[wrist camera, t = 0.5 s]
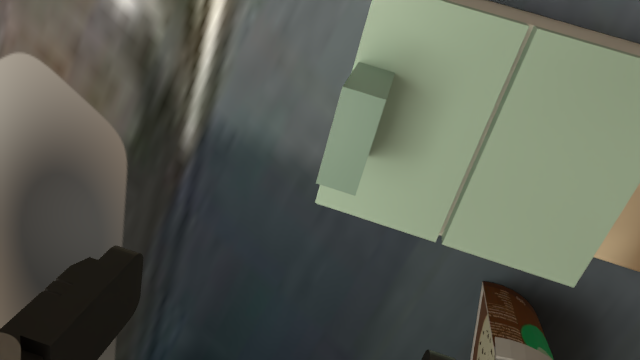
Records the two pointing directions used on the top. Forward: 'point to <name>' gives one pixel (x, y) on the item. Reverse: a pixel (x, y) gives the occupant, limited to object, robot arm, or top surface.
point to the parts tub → (552, 151)
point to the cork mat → (624, 237)
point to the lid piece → (415, 111)
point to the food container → (507, 327)
